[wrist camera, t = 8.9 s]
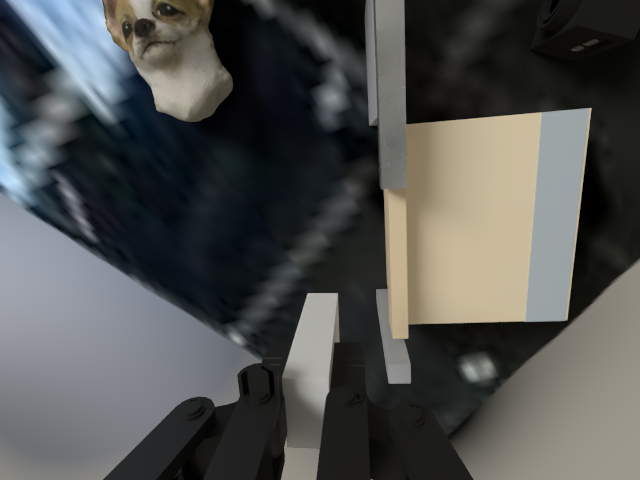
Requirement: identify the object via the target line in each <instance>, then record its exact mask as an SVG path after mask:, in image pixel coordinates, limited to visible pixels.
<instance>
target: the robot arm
mask: <svg viewBox="0 0 640 480" xmlns="http://www.w3.org/2000/svg"><path fill="white" fill-rule="evenodd" d="M238 383H239V391H240V398H239V400H238V401H237V402H234V403H231V404H228V405H223V406H218V407H215V406H214V403H213V402H212V400H211V399H209V398H206V397H195V398H190V399H188V400H186V401H184V402H182V403H181V404H179V405H178V406H177V407H175V408H174V410H172V411H171V412H170V413H169V415H167V416H166V417H165V418H164V419H163V420H162V421H161V423H160V424H158V425H157V426H156V427H155V428H154V429H153V430H152V431H151V432H150V433H149V434H148V435H147V436H146V437H145V438H144V439H143V440H142V441H141V443H139V444H138V445H137V446H136V447H135V449H133V450H132V451H131V452H130V453H129V454H128V455H127V456H126V458H125V459H123V461H121V462H120V463H119V464H118V465H117V466H116V467H115V468H114V469H113V470H112V471H111V472H110V473H109V474H108V475H107V476H106V477H105V478H104V479H103V480H281V476H282V471H283V467H284V462H285V454H284V445H285V440H286V436H287V447H294V448H317V449H320V454H319V462H318V471H317V480H370V479H373V480H473V478H472V477H471V475H470V473H469V472H468V470H467V469H466V467H465V465H464V464H463V462H462V460H461V459H460V457H459V456H458V454H457V452H456V451H455V449H454V447H453V446H452V444H451V443H450V441H449V439H448V438H447V436H446V434H445V433H444V431H443V430H442V428H441V426H440V425H439V423H438V422H437V420H436V418H435V417H434V415H433V414H432V413H431V412H430V411H429V409H427V408H426V407H424V406H422V405H421V404H417V403H413V402H403V403H400V404H397V405H395V406H394V407H393V408H392V409H391V410H387V409H384V408H381V407H379V406H377V405H375V404H374V403H373V402H371V401H370V400H369V398H368V396H367V394H366V385H365V364H364V350H363V348H362V347H361V345H360V344H359V343H343V342H339V317H338V293H308V294H307V298H306V301H305V304H304V307H303V311H302V314H301V317H300V321H299V324H298V327H297V330H296V334H295V337H294V340H293V343H281V342H275V343H274V344H273V345H272V346H271V347H269V348H268V349H267V351H266V354H265V356H264V359H263V361H262V363H257V364H253V365H250V366H247V367H245V368H244V369H242V370H241V371H240V372H239V374H238Z"/></svg>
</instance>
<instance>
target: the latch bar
mask: <svg viewBox="0 0 640 480" xmlns="http://www.w3.org/2000/svg"><path fill="white" fill-rule="evenodd" d="M373 9H374V37H375V65H376V93H377V121H378V149H379V176H380V187H381V189H395V188H407V146H406V83H405V19H404V0H373Z"/></svg>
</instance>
